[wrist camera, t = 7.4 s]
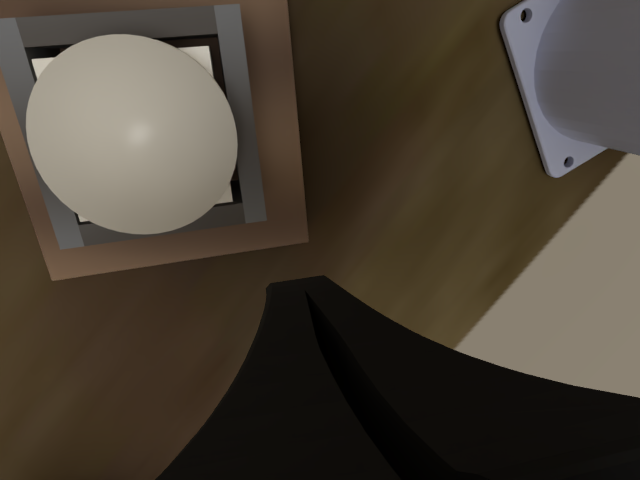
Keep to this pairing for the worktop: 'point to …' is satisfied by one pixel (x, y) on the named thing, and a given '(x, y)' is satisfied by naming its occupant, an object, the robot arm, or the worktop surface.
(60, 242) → the knob backing plate
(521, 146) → the worktop surface
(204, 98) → the knob
